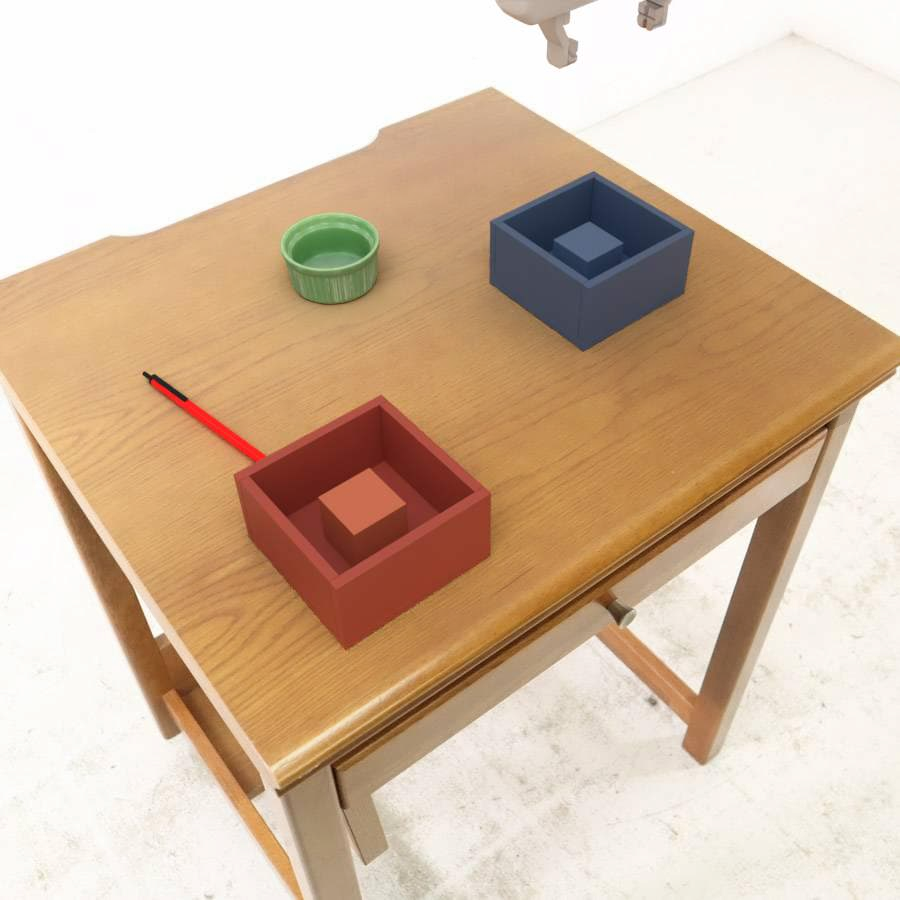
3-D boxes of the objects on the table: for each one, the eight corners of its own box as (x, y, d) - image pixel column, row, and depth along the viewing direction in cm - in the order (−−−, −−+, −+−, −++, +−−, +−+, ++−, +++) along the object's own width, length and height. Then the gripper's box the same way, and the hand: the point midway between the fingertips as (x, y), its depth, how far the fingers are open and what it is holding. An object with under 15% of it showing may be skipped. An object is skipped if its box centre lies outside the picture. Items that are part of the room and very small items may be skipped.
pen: (149, 374, 90) (146, 364, 89) (300, 484, 81) (298, 474, 80) (141, 379, 90) (137, 369, 89) (291, 491, 81) (289, 481, 80)
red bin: (490, 555, 76) (491, 492, 71) (345, 650, 71) (335, 589, 66) (387, 457, 83) (381, 394, 78) (248, 536, 78) (232, 474, 73)
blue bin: (684, 293, 97) (695, 230, 92) (583, 351, 91) (588, 288, 86) (588, 232, 104) (593, 170, 99) (489, 282, 98) (489, 220, 93)
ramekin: (277, 262, 101) (270, 222, 98) (368, 243, 103) (365, 204, 100) (297, 318, 95) (291, 278, 92) (394, 297, 97) (391, 257, 94)
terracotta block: (409, 543, 76) (406, 503, 73) (359, 575, 74) (354, 535, 71) (373, 507, 78) (369, 467, 75) (324, 537, 77) (317, 497, 73)
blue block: (619, 283, 97) (624, 242, 93) (584, 302, 95) (587, 262, 92) (585, 260, 99) (589, 220, 96) (550, 279, 97) (553, 239, 94)
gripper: (540, -107, 65) (532, 104, 75) (761, -178, 73) (728, 20, 83) (474, -133, 68) (475, 71, 78) (693, -198, 77) (668, -6, 87)
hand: (607, 44), depth 81 cm, fingers open, 8 cm apart
